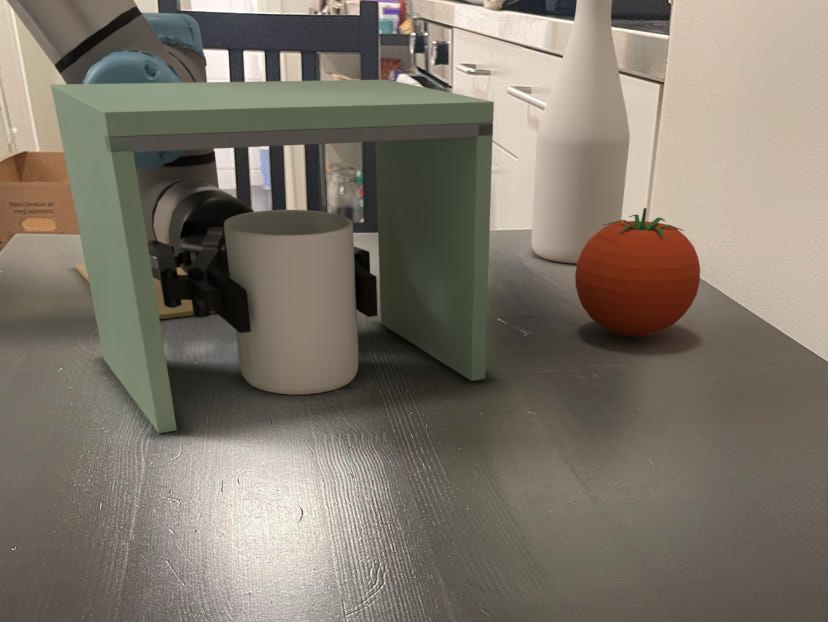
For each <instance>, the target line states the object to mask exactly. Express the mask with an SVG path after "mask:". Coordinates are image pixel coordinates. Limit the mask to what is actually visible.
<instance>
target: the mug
mask: <svg viewBox="0 0 828 622" xmlns="http://www.w3.org/2000/svg"><path fill="white" fill-rule="evenodd" d="M224 232H225V240H226V249H227V258H228V267H229V276H230V278H231V279H232V280H233V281H235V282H236V283H237V284H239V285H240V286H241V287H243V288H244V289H245V290H247V300H248V309H249V319H250V328H251V332H246V333H239V332H238V331H237V330H236V329H235V336H236V346H237V353H238V354H237V355H238V361H239V368H240V372H241V374H242V376H243V379H245V381H246V382H247V383H248V384H249V385H251V386H252V387H254V388H256V389H257V390H260V391H264V392H268V393H273V394H281V395H312V394H319V393H326V392H330V391H333V390H338V389H340V388H342V387H345V386H346V385H348V384H349V383H350V382H352V381H353V380H354V379H355V377H356V376H357V373H358V370H359V339H358V336H359V335H358V315H357V312H358V311H357V310H356V289H355V266H354V247H355V246H354V244H355V243H354V224H353V221H352V220H351V218H349V217H347V216H344V215H341V214H337V213H334V212H333V213H332V212H328V211H327V212H326V211H319V210H311V209H309V210H308V209H307V210H305V209H271V210H268V209H267V210H258V211H254V212H250V213H245V214H240V215H236V216H233V217H230V218H228V219H227V220H226V221H225V222H224Z"/></svg>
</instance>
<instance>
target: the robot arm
mask: <svg viewBox="0 0 828 622" xmlns="http://www.w3.org/2000/svg"><path fill="white" fill-rule="evenodd" d="M6 2H7V3H8V4H9V6H10V7H11V9H12V10H13V12H14V13H15V14H16V15H17V17H18V19H19V20H20V21H21V22H22V24H23V25H24V27H25V28H26V29H27V31H29V33H30V35H31V36H32V37H33V39H34V40H35V42H36V43H37V44H38V45H39V47H40V48H41V50H42V51H43V52H44V55H46V57H47V58H48V60H50V61H49V62H51V63H52V65H53V66H54V68H55V69H56V71H57V72H58V73H59V74H60V76H61V78H62V80H63V82H64V84H127V83H196V82H208V77H207V63H208V62H207V58H206V55H205V52H204V46H203V40H202V35H201V33H202V32H201V28H200V25H199V23H198V21H197V20H196V19H195V18H194V17H193V16H192V15H189V14H185V13H170V12H141V10H140V9H139V7H138V4H137V3H136V1H135V0H6ZM133 154H134V160H135V166H136V173H137V179H138V185H139V192H140V198H141V204H142V211H143V217H144V224H145V230H146V236H147V243H148V249H149V255H150V262H151V268H152V274H153V277H154V278H155V279H157V280H159V281H160V283H161V289H162V294H163V300H164V305H165V306H167V307H169V308H176V307H178V306H181V305H182V302H181V300H192V307H193V314H194V315H193V317H195V318H208V317H210V316H211V313H210V311H215V312H216V313H215V314H217V315H218V316H220V317H221V318H222V319H223V320H224V321H225V322H227V324H229V325H230V326H231V327H232V328H233V329H234V330H235V331H236V330H237V331H238V332H239V333H246V332H251V328H250V319H249V309H248V300H247V290H245V289H244V288H243V287H241V286H240V285H239V284H237V283H236V282H235V281H233V280H232V279H231V278H230V276H229V267H228V258H227V249H226V240H225V232H224V222H225V221H226V220H227V219H228V218H230V217H233V216H236V215H240V214H245V213H250V212H255V211H254V209H253V208H252V207H251V206H250V205H248V204H247V203H245V202H244V201H242V200H241V199H239V198H237V197H235V196H234V195H232V194H231V193H228V192H227V191H225V190H223V189H221V188H220V186H219V185H220V184H219V177H218V167H217V159H216V151H215V149H196V150H173V151H151V152H133ZM370 256H371V254H370V251H369V250H366V249H364V248H361V247H357V246H354V266H355V289H356V311H357V312H359V313H361V314H362V315H364V316H365V317H367V318H371V317H378V286H377V285H378V284H377V281H378V280H377V276H376V275H375V274H373V273H371V257H370ZM179 267H180V268H181V269H182V270H183V271H184V272H185V273H187V274H188V275H178V274H177V268H179Z"/></svg>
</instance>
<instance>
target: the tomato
mask: <svg viewBox="0 0 828 622" xmlns="http://www.w3.org/2000/svg"><path fill="white" fill-rule="evenodd" d="M632 217H634V220H626V219H621V220H620V221H616V222H612V223H608V224H610V225H608V226H606V227H604V228H603V229H601V230H600V231H599V232H597V233H596V234H595V235H594V236H593V237H592V238H590V239H589V241H588V242H587V244H586V245H585V247H584V248H583V250H582V252H581V255H580V257H579V259H578V262H577V263H576V267H575V273H574V278H575V279H574V283H575V289H576V293H577V297H578V300H579V302H580V304H581V306H582V309H583V310H584V311H585V312H586V313H587V315H588V316H589V318H591V320H592V321H594V322H595V323H597V324H598V325H599V326H600V327H602V328H603V329H605V330H606V331H609V332H611V333H614V334H617V335H619V336H626V337H645V336H649V335H652V334H656V333H660V332H663V331H664V330H666V329H668V328H670V327H672V326H673V325H675V324H676V323H677V322H678V321H679V320H681V319H682V318H683V317H684V315H685V314H686V313H687V311H689V309H690V308H691V307H692V306H693V303H694V301H695V299H696V297H697V294H698V291H699V287H700V281H701V265H700V259H699V256H698V254H697V250H696V249H695V246H694V245H693V244H692V242H691V241H690V239H688V237H687V236H686V235H685V234H683V233H682V232H684V231H685V230H684V229H681V228H679V227H676V226H674V225H671V224H667V223H666V224H665V223H661V221H663V222H666V220H665V219H664V218H662V217H656V218H655V219H654V220H652V221H646V217H647V207H644V208H643V209H642V215H641V220H640V215H639V214H632V215H629V218H632ZM603 225H607V224H603ZM681 231H682V232H681Z"/></svg>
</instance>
